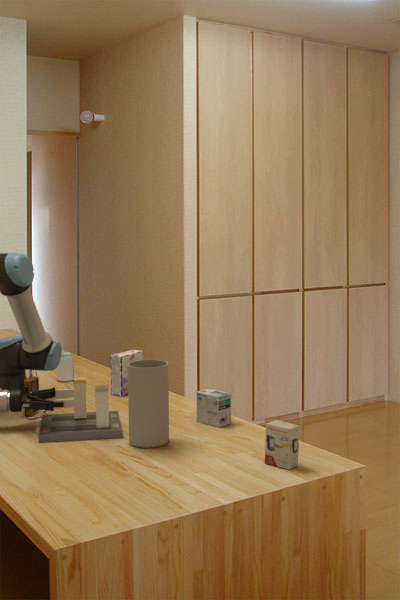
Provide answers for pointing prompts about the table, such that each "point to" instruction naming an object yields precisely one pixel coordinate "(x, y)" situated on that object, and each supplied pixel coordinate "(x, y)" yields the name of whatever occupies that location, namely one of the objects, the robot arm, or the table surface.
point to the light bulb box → (213, 407)
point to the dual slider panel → (83, 423)
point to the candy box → (122, 370)
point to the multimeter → (29, 386)
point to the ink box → (282, 444)
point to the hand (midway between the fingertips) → (74, 397)
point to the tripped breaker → (79, 397)
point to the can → (65, 368)
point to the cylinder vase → (148, 403)
